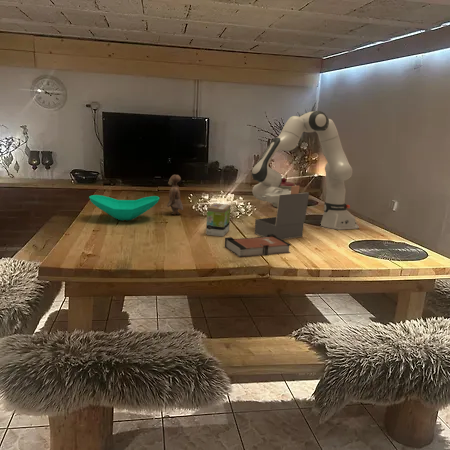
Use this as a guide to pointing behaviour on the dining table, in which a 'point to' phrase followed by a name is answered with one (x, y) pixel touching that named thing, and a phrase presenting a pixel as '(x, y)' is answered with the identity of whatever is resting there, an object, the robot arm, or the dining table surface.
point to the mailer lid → (292, 207)
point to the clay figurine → (174, 194)
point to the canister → (285, 187)
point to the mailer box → (277, 229)
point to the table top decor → (124, 206)
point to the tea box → (218, 219)
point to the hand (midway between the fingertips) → (292, 199)
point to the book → (257, 246)
